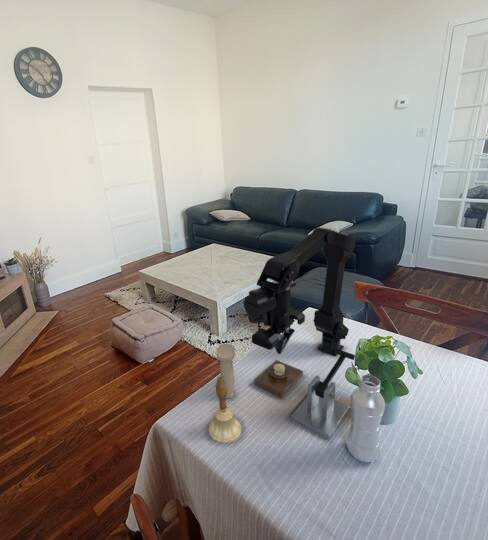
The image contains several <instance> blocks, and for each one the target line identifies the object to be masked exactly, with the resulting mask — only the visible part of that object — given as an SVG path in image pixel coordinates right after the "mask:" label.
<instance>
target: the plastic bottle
mask: <svg viewBox="0 0 488 540" xmlns="http://www.w3.org/2000/svg"><path fill="white" fill-rule="evenodd" d="M380 392H381V380H380V379H379V378H378V377H376V376H374V375H371V374H363V375H361V376H360V379H359V383H358V387H356V388H355V389H354V390H353V391H352V392H351V394H350V409H351V422H350V428H349V431H348V434H347V437H346V446H347V450H348V452H349V453H350V455H351V456H352V457H353V458H354V459H356V460H357V461H359V462H361V463H372V462H375V461H376V460H377V459H378V458H379V455H380V452H381V447H380V427H381V422H382V418H383V415H384V413H385V409H386V403H385V399H384V397H383V396H382V393H380Z"/></svg>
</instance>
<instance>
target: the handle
mask: <svg viewBox="0 0 488 540" xmlns="http://www.w3.org/2000/svg"><path fill="white" fill-rule="evenodd" d="M235 356H236V349H235V347H234V346H233V344H231V343H221V344H219V346H217V348H216V357H217V360H218V361H219V362H220V363H219V369H220V371H219V373H220V374H219V375H220V376H219V377H223V380H224V382H225V383H226V387H227V395H226V399H232V397H234V396H235V373H234V364H233V363H234V362H233V360H234V358H235Z"/></svg>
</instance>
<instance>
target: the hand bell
mask: <svg viewBox="0 0 488 540" xmlns="http://www.w3.org/2000/svg"><path fill="white" fill-rule="evenodd" d="M215 392H216V393H215V394H216V396H217V398H218V403H219V404H218V405H219V407H218V408H216V410H215V412H214V418H213V419H212V421H211V422H210V423H209V425H208V434H209V436H210V438H211V439H212V440H214V441H215V442H217V443H222V444H229V443H233V442H234V441H236V440H237V439H239V438H240V436H241V434H242V431H243V430H242V424H241V422H240V421H239V420H238V419H237V418H235V416H234V412H233V410H232V409H231V408H230V407H227V400H226V399H227V398H226V395H227V387H226V383H225V382H224V380H223V377H220V376H218V377H217V379H216V383H215Z"/></svg>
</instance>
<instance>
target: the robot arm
mask: <svg viewBox="0 0 488 540" xmlns="http://www.w3.org/2000/svg"><path fill="white" fill-rule="evenodd" d="M355 247H356V239H355V237H354V236H353V235H352V234H350V233H343V232H337V231H335V230H333V229H331V228H325V227H318V226H317V227H315V228H314V229H313V231H312V232H311V233H310V234H309V235H307V236H306V237H305V238H304V239H302V240H301V241H300V242H298V244H296V245H295V246H294V247H293V248H291V249H290V250H288V251H286V252H283V253H279V254H276V255H275V256H273V257H271V258H269V259H268V260H267V261H266V262H265V263H264V267H263V268H262V271H261V273H260V275H259V277H258V279H257V282H256V286H258V287H259V288H256V289H252V290H249V292H248V295H247V296H245V298H244V299H243V300H244V301H243V307H244V310H245V312H246V314H247V315H248V318H247V319H248V322H249V323H250V324H255V325H256V324H262V323H263V326H265V327H269V328H267V329H265V328H260V329H259V330H257V331H256V332H254V333H253V334H252V335H251V343H252V344H253V345H257V346H258V347H261V348H263V349H266V350H268V351H269V350H273V349H275V352H276V353H277V354H278V355H281V354H282V353H283V352H284V350H285V348H286V346H287V345H288V343H289V341H290V339H291V338H292V336H293V334H294V333H295V332H296V330H295V329H294V328H291V326H292V325H293V324H294V323H295V320H296V321H297V324H298V325H299V326H300V325H302V324H303V323H304V322H305V321H306V315H305V314H304V312H303V311H300V310H297V309H294V306H292V305H291V293H292V292H291V290H292V289H291V288H294V287H296V286H297V283H296V282H294V280H295V278H296V277H297V276H298V275H299V273H300V268H301V267H302V266H303V265H304V264H305V263H306V262H307V261H308V260H310V259H311V258H312V257H314V256H315V255H316V254H317V253H318V252H319V251H320V250H322V252H323V255H324V257H325V259H326V261H327V263H326V264H327V265H326V269H325V270H326V271H325V278H324V279H325V280H324V286H323V287H324V288H323V294H322V295H323V297H322V303H321V306H320V307H319V308H318V309H316V310H315V311H314V316H313V324H314V327H315V330H316V331H317V332H320V333H321V344H320V345H318V347H317V351H319V352H322V353H324V354H328V355H330V356H333V357H338V356H339V355H338V354H335V349H339V350H342V351H343V349H344V348H345V346H344V345H342V344H341V340H345V339H346V338H347V336H348V334H349V330H350V329H349V328H348V327H347V325H345V324H344V314H343V312H342V310H341V308H340V303H341V295H342V289H343V283H344V282H343V280H344V275H345V267H346V262H347V261H349V259H350V258H351V257H352V255H353V253H354V250H355ZM269 280H271V281H269ZM272 281H274V282H272Z"/></svg>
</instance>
